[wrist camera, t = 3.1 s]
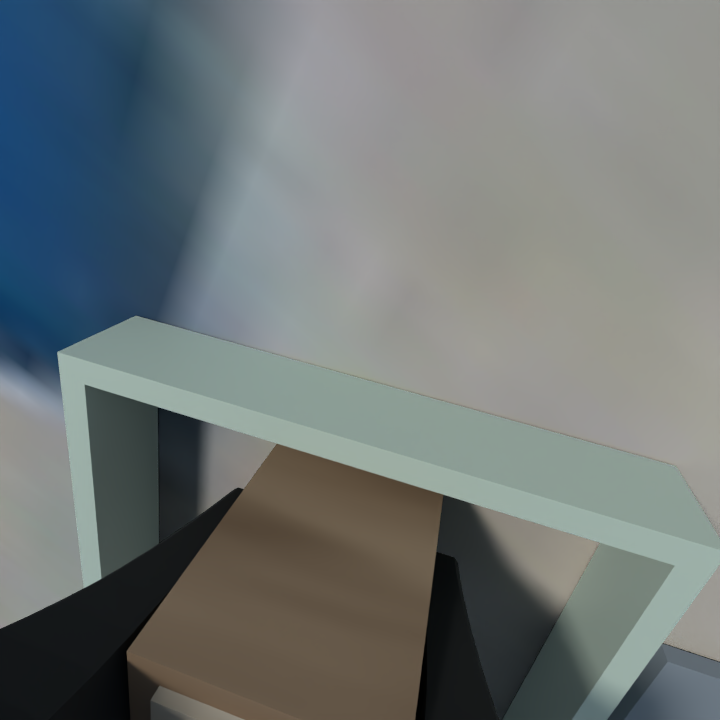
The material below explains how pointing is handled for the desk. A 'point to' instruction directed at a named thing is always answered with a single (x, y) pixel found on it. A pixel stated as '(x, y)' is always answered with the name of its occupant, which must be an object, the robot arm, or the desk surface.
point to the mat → (673, 689)
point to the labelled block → (297, 603)
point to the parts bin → (402, 463)
